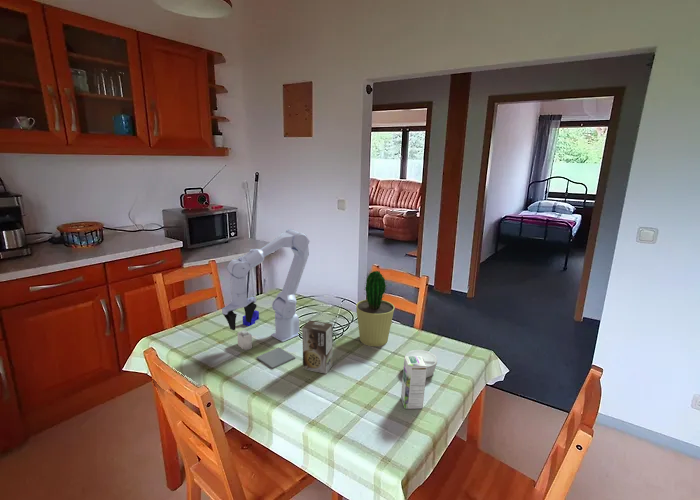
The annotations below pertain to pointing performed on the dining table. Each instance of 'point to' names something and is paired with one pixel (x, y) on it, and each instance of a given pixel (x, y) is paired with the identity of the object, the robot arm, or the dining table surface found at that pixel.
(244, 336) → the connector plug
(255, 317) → the cable holder
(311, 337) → the brown food box
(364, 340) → the potted cactus
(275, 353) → the slate coaster
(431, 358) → the ramekin
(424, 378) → the syrup box
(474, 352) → the dining table surface
